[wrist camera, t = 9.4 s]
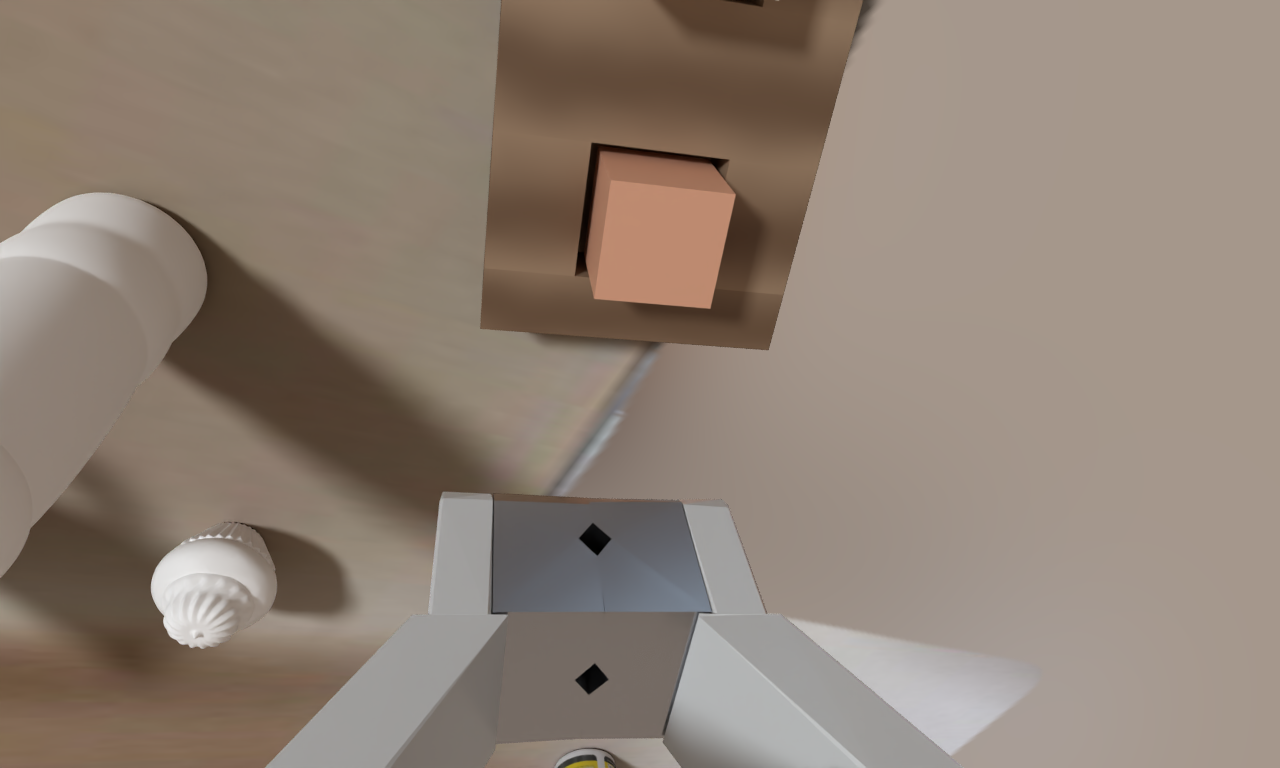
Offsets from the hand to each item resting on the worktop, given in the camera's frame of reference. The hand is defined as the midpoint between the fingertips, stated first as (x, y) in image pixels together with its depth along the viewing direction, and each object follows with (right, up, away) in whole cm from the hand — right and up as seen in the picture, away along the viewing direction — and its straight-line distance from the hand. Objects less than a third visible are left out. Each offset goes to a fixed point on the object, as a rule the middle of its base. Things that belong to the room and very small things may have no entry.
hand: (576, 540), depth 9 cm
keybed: (+2, +16, +27) cm, 31 cm away
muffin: (-23, -7, +37) cm, 44 cm away
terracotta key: (+1, +10, +28) cm, 29 cm away
